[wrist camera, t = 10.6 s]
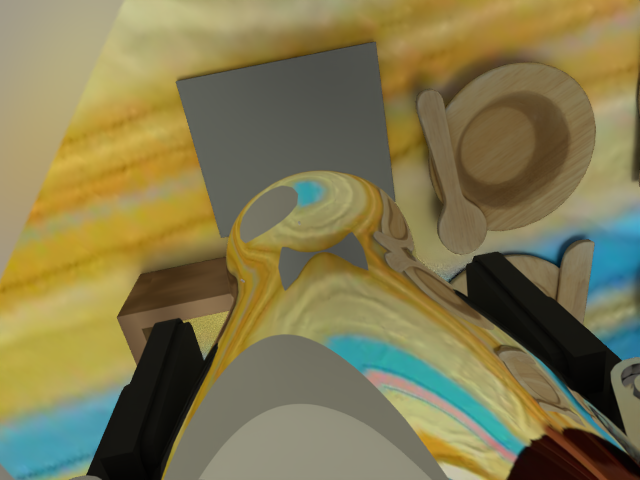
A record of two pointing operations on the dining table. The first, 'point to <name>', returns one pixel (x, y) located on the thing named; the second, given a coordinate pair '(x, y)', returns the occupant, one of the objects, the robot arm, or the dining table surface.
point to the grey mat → (287, 124)
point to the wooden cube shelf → (173, 299)
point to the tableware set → (512, 166)
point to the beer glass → (371, 362)
